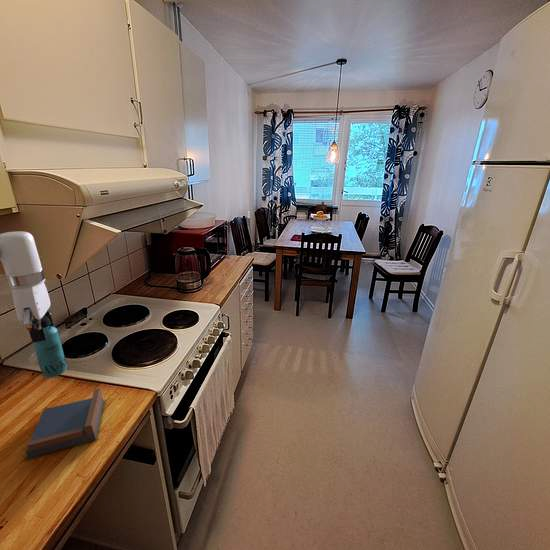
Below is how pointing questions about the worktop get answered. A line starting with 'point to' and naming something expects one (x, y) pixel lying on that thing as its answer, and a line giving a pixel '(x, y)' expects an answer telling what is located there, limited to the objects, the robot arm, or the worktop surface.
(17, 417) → the worktop surface
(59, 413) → the blue square tray
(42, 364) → the beverage bottle
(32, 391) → the worktop surface
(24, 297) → the robot arm
